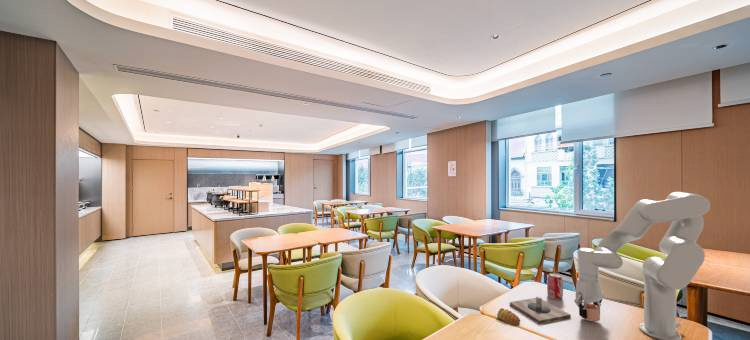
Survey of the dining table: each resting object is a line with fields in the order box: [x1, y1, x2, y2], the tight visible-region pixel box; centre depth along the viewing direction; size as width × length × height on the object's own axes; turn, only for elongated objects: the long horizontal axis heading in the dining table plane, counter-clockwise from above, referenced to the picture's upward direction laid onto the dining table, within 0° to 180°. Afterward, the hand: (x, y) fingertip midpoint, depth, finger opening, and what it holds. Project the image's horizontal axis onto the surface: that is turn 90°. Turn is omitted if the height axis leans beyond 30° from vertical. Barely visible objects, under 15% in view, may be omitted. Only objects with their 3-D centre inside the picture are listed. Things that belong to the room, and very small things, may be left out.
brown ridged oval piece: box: [497, 307, 521, 325], centre depth 131 cm, size 9×7×4 cm
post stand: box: [509, 296, 572, 325], centre depth 139 cm, size 18×18×6 cm
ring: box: [581, 303, 601, 322], centre depth 130 cm, size 7×7×5 cm
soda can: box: [546, 272, 564, 300], centre depth 153 cm, size 7×7×12 cm
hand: (589, 315), depth 130 cm, fingers closed on ring, 7 cm apart
